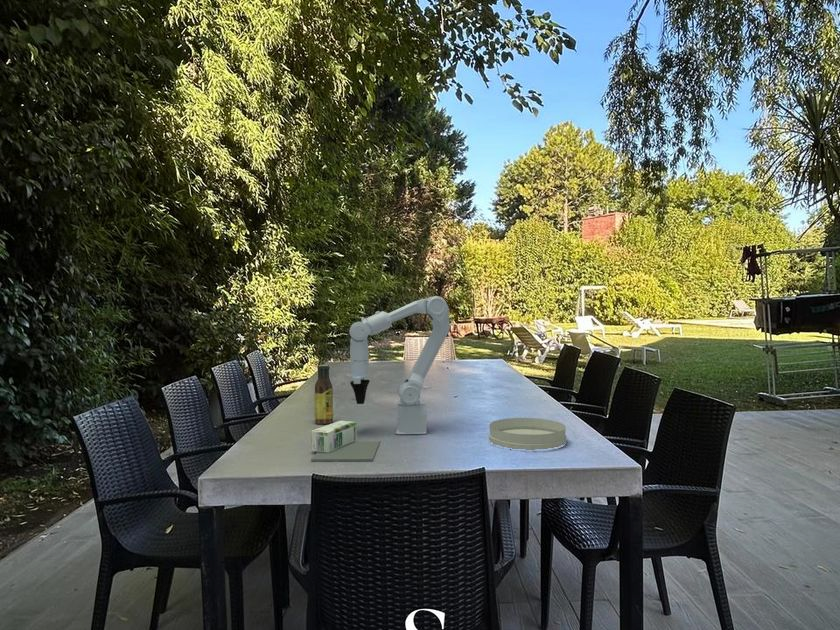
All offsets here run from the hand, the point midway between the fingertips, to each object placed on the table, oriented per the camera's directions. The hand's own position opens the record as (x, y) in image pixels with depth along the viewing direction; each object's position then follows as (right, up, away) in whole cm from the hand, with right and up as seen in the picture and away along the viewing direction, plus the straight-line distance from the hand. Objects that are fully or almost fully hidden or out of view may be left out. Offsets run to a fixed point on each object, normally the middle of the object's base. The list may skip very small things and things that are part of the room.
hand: (360, 403), depth 171 cm
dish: (+50, -10, -12) cm, 52 cm away
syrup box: (-2, -6, -9) cm, 12 cm away
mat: (-1, -10, -20) cm, 23 cm away
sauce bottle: (-14, -10, +17) cm, 24 cm away
